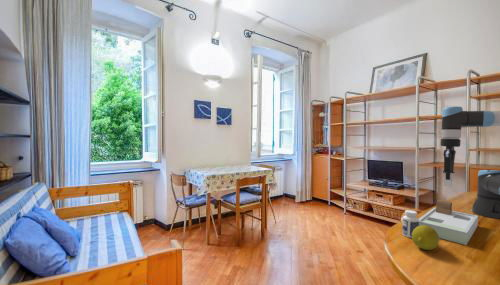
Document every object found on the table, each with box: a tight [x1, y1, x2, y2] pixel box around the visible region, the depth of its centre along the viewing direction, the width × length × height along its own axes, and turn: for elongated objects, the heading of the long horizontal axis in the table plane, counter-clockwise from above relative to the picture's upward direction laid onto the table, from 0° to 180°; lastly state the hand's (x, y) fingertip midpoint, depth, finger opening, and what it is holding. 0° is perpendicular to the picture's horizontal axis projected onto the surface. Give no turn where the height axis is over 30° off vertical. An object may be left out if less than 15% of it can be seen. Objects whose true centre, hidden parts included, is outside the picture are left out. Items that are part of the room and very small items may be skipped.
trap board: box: [418, 206, 479, 246], centre depth 106 cm, size 30×16×5 cm, turn 131°
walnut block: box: [435, 199, 453, 215], centre depth 115 cm, size 5×5×5 cm
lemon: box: [411, 225, 440, 251], centre depth 87 cm, size 11×8×8 cm
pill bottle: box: [401, 209, 419, 239], centre depth 97 cm, size 5×5×10 cm
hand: (447, 186), depth 120 cm, fingers closed
